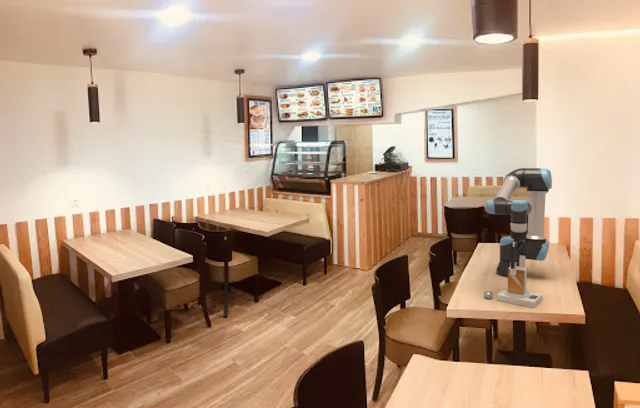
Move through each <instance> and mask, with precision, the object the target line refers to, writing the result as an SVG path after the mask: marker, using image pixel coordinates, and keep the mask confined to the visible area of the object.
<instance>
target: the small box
mask: <svg viewBox="0 0 640 408" xmlns="http://www.w3.org/2000/svg"><path fill="white" fill-rule="evenodd" d="M527 274H528V267H526V266H525V267H518V266H516V275H512V274H510V267H509V268H508V277H507V288H508V289H507V292H508V293H514V294H520V295H524V294H525V292H526V291H527V280H528V279H527V276H528V275H527Z"/></svg>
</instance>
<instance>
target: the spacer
mask: <svg viewBox="0 0 640 408" xmlns="http://www.w3.org/2000/svg"><path fill="white" fill-rule="evenodd" d="M483 298H484V299H485V300H493V299H494V292H493V291H491V290H490V291H489V290H486V291H484V292H483Z"/></svg>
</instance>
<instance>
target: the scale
mask: <svg viewBox="0 0 640 408" xmlns="http://www.w3.org/2000/svg"><path fill="white" fill-rule="evenodd" d="M507 289H508V287H506V288H505V289H503V290H502V291H500V292H499V293H498V294H496V300H497V301H498V302H503V303H508V304H512V305H518V306H522V307H526V308H531V307H532V309H534V308H535V306H536V307H537V306H538V305H539V304H540V303H541V302H542V301H543V298H544V297H543V296H544V294H543V293H539V292H538V293H537V292H533V291H528V290H526V292H525V294H524V295H520V294H514V293H508V292H507Z"/></svg>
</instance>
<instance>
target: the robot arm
mask: <svg viewBox="0 0 640 408" xmlns="http://www.w3.org/2000/svg"><path fill="white" fill-rule="evenodd" d="M552 187H553V177H552V173H551V171H550V169H549V168H543V167H539V168H538V167H537V168H536V167H535V168H534V167H533V168H531V167H530V168H529V167H526V168H525V167H521V168H516V169H514V170H512V171H510V172H509V173H508V174H506V175H504V178H503V179H502V185H501V187H500V189H499V190H498V192H497V194H496V195H495V197H494V199H488V200H487V201H486V205H485V209H486V213H487V214H491V215H504V216H505V215H506V216H508V215H509V216H510V223H509V225H510V235H508V236H503V237H501V238H500V241H499V261H498V264H497V267H496V273H495V274H497V275H498V276H502V277H505V278H508V268H509V267H510V274H512V275H516V266H518V267H526V260H531V261H541V262H543V261H545V260H546V258H547V255H548V253H549V249H550V241H547V237H546V236H545V235H544V234H545V233H544V232H545V212H546V210H545V209H546V195H547V194H548V193H549V190H550V189H552ZM519 188H523V189H526V193H528V194H529V195H528V200H525V199H524V200H523V199H514V200H511V199H512V197H513V196H514V193H515V191H516V190H518V189H519Z"/></svg>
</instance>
